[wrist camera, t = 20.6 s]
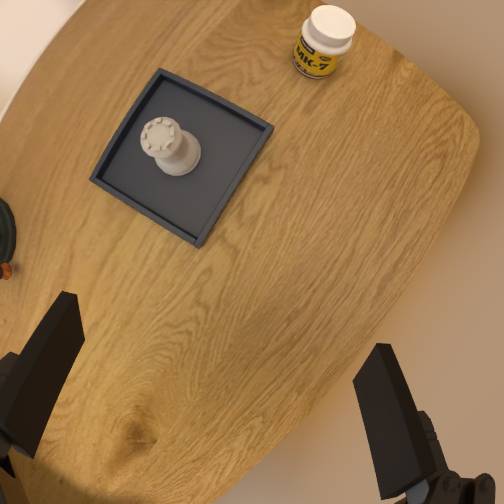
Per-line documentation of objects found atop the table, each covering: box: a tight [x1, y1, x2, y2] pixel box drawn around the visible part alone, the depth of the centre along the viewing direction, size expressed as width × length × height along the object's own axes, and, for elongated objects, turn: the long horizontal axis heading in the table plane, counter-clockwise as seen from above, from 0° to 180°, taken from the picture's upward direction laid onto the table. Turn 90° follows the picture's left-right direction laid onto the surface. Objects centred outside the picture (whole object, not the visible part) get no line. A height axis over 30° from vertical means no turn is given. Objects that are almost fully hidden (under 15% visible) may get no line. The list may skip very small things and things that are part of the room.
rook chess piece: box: [141, 117, 201, 176], centre depth 25 cm, size 4×4×8 cm
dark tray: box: [89, 68, 274, 249], centre depth 29 cm, size 13×13×2 cm
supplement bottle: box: [293, 5, 356, 79], centre depth 25 cm, size 5×5×8 cm
